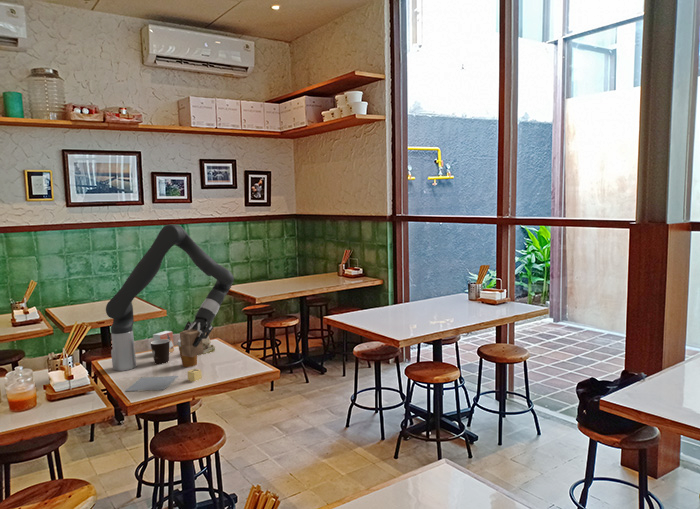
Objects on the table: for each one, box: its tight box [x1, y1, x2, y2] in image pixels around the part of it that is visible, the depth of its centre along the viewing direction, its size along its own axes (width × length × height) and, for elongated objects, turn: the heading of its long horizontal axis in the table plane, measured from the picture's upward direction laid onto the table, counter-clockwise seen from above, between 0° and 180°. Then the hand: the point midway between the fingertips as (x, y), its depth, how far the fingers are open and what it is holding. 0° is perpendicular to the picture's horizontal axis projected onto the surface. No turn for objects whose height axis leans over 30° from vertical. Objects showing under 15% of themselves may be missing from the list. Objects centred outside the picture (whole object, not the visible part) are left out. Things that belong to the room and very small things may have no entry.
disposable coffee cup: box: [176, 339, 198, 368], centre depth 243 cm, size 10×10×12 cm
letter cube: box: [187, 368, 203, 382], centre depth 222 cm, size 4×4×4 cm
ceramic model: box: [199, 333, 216, 356], centre depth 264 cm, size 14×11×10 cm
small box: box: [152, 330, 175, 353], centre depth 265 cm, size 8×6×10 cm
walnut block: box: [179, 329, 203, 357], centre depth 221 cm, size 6×6×10 cm
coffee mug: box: [150, 339, 170, 365], centre depth 251 cm, size 12×9×10 cm
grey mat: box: [124, 375, 179, 392], centre depth 220 cm, size 16×16×1 cm
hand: (188, 345), depth 219 cm, fingers closed on walnut block, 6 cm apart
